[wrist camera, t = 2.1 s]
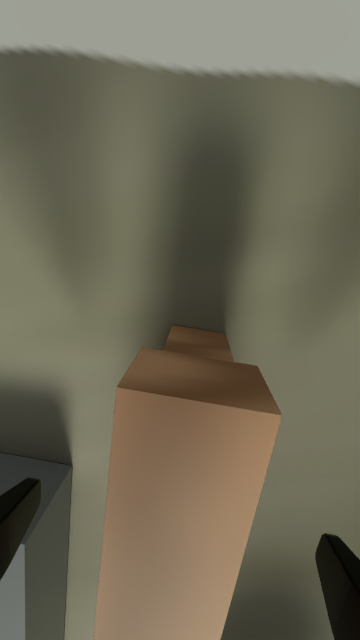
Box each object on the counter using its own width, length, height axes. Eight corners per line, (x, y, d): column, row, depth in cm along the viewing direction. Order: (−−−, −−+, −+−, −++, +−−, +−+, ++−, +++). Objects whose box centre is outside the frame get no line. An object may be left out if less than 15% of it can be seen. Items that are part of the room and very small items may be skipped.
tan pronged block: (238, 329, 12) (282, 415, 5) (202, 505, 14) (202, 703, 8) (161, 316, 12) (116, 387, 6) (138, 493, 14) (90, 678, 8)
